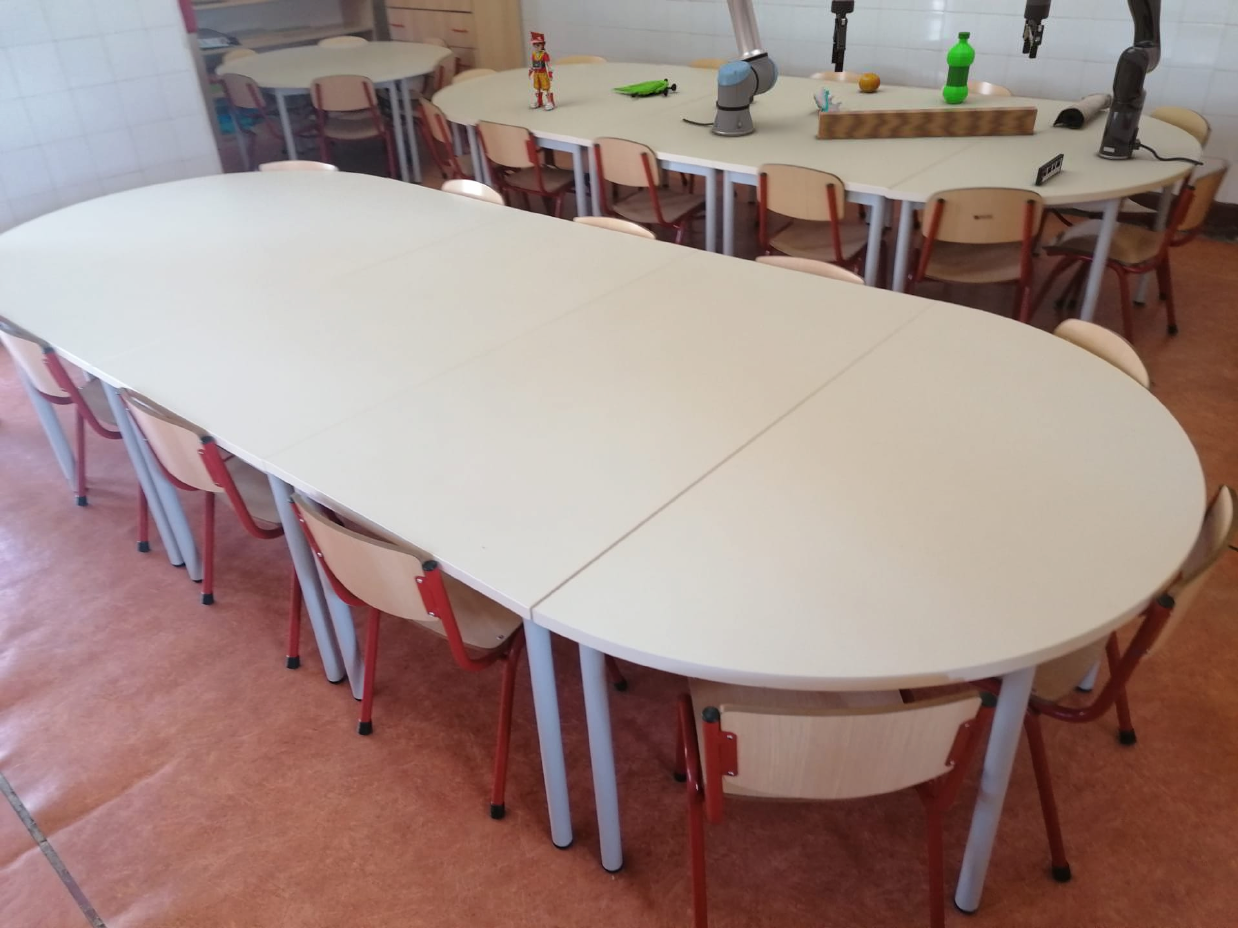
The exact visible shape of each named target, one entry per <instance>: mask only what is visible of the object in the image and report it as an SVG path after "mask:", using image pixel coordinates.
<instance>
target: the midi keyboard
mask: <svg viewBox="0 0 1238 928" xmlns="http://www.w3.org/2000/svg"><path fill="white" fill-rule="evenodd" d="M1064 157H1065V153H1059V154H1058V155H1056V156H1055V157H1052V159H1051V160H1049V161H1047V162H1045V164H1042V165H1041V166H1039V167H1038V169H1037V175H1036V179H1035V186H1040V185H1042V183H1044V182H1045V181H1047V180H1048V179H1049V178H1051V177H1052V176H1054V175H1055V174H1056V173H1058V172H1060V171H1061V170H1062V165H1063V161H1064Z"/></svg>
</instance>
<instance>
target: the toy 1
mask: <svg viewBox="0 0 1238 928" xmlns="http://www.w3.org/2000/svg"><path fill="white" fill-rule="evenodd" d="M529 33H530V35H531V36H528V37H527V38H528V39H529V40H528V41H527V43H529V44H530V43H531V44H532V48H533V50H534V51H533V52H532V55H531V58H530V59H531V63H530V66H528V74H527V75H528V76H527V77H528V79H529V80H531V75H532V74H533V84H532V85H533V86H532V87H533V88H534V89H535V90H536V92H534V95H535V97H536V100H535V101H533V102H531V105H530V108H531V109H535V108H538V107H542V106H544V101H543V100H544V99H543V95H544V92H546V94H545V97H546V99H547V103H546V104H545V106H544V110H546V111H549V110H553V109H554V107H555V106H556V105H555V99H554V92H551V91H550V90H551V86H552V84H551V82H552V81H553V80H554V77H553V73H554V71H555V70H554V69H552V68H551V63H550V61H551V59H550V58H551V57H550V54H549V53H548V52H547V50H546V48H545V46H546V44H547V41H545V35H544V33H543V32H542V33H539V32H535V31H529Z"/></svg>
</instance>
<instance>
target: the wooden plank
mask: <svg viewBox="0 0 1238 928" xmlns="http://www.w3.org/2000/svg"><path fill="white" fill-rule="evenodd" d="M1038 112H1039V110H1038V108H1037V107H1036V106H1035V105H1033V106H1032V105H1031V106H996V107H995V106H993V107H991V106H990V107H989V106H988V107H955V108H953V107H951V108H950V107H948V108H946V107H945V108H916V109H915V108H911V109H910V108H909V109H908V108H906V109H871V110H869V109H868V110H840V111H823V110H822V111H819V112H818V123H817V124H818V125H817V139H818V140H828V139H829V140H831V139H833V140H834V139H873V138H874V139H879V138H881V139H884V138H925V137H926V138H927V137H930V138H932V137H976V136H977V137H980V136H981V137H982V136H1020V135H1021V136H1022V135H1026V136H1028V135H1029V136H1030V135H1034V132H1035V131H1034V130H1035V126H1036V121H1037V116H1038Z"/></svg>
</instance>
